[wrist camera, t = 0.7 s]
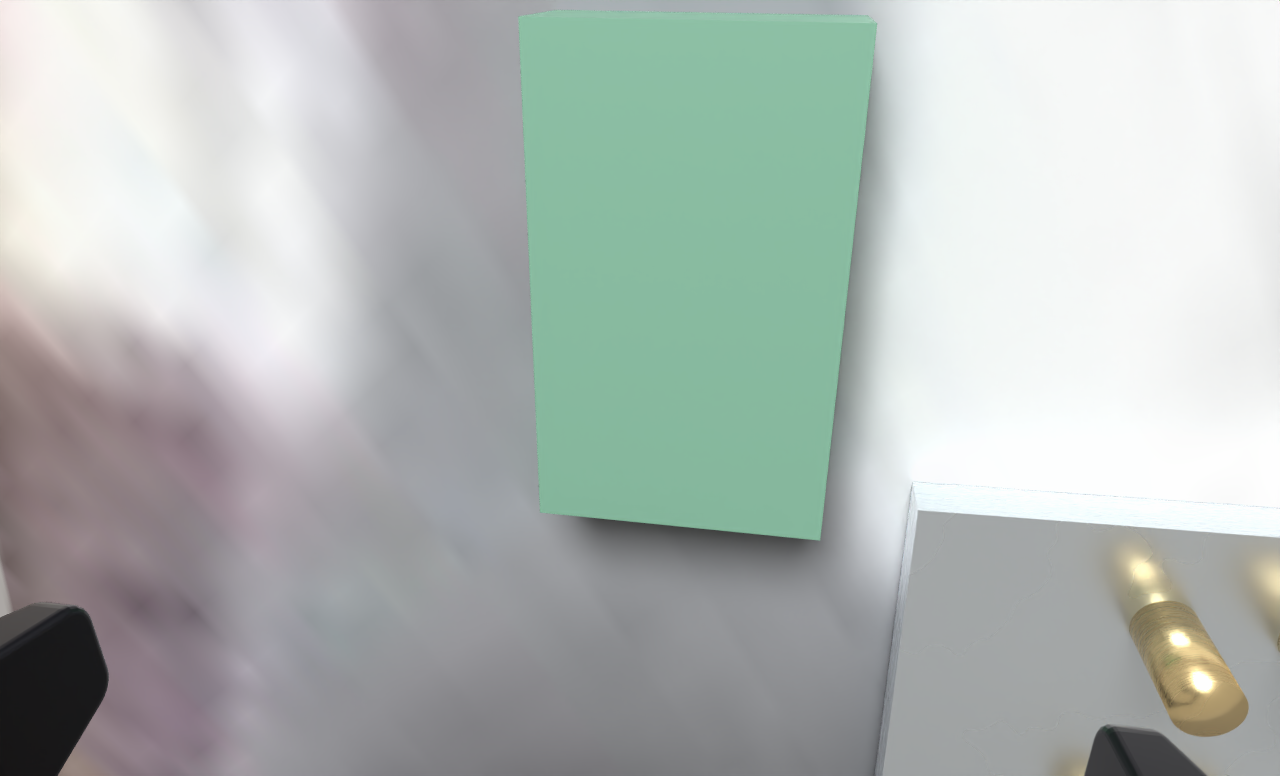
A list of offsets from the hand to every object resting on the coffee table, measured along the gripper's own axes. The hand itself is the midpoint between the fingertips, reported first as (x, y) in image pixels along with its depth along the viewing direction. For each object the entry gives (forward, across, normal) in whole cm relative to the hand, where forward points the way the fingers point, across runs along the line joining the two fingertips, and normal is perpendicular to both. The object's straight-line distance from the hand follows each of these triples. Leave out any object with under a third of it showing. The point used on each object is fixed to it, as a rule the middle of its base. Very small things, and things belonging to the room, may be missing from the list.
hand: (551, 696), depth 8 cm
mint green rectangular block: (+13, 0, 0) cm, 13 cm away
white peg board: (+13, -12, +11) cm, 21 cm away
